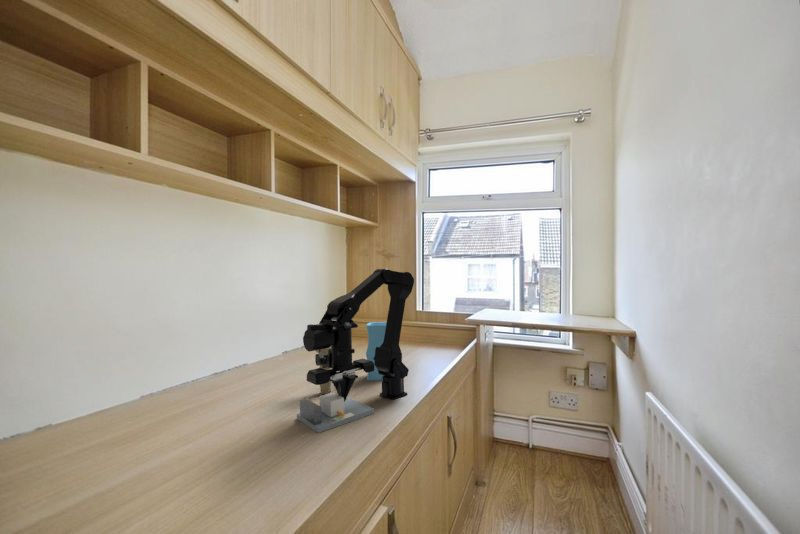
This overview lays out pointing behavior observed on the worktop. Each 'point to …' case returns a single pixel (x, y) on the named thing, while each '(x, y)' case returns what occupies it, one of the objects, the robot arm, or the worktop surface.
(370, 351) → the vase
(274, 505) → the worktop surface
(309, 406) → the dark grey upright slab
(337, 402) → the block
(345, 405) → the board
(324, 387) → the handle
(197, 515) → the worktop surface
